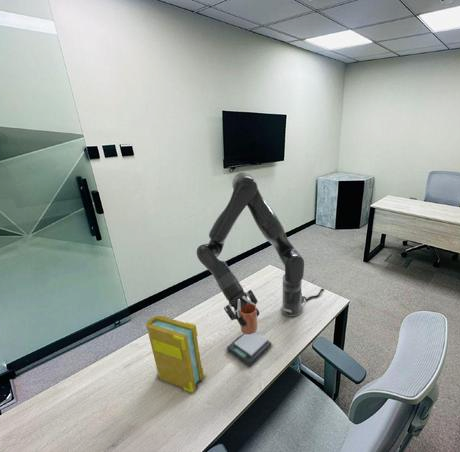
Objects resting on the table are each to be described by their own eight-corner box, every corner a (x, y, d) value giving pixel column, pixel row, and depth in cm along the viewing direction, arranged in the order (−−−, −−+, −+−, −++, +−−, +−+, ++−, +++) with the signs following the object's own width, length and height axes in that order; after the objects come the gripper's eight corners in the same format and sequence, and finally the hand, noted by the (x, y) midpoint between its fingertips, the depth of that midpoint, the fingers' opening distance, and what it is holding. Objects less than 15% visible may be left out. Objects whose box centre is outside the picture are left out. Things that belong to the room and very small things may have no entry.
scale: (249, 332, 121) (249, 326, 120) (271, 345, 114) (271, 340, 113) (227, 350, 111) (226, 344, 110) (249, 366, 104) (249, 361, 103)
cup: (249, 320, 114) (248, 300, 110) (260, 327, 110) (260, 307, 106) (237, 329, 109) (235, 309, 105) (249, 337, 105) (248, 317, 101)
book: (204, 376, 100) (195, 324, 90) (192, 393, 94) (182, 339, 85) (167, 363, 105) (156, 313, 96) (154, 378, 99) (141, 326, 90)
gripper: (219, 290, 101) (242, 328, 99) (246, 274, 111) (268, 308, 109) (211, 296, 106) (233, 333, 104) (238, 280, 116) (259, 313, 114)
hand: (251, 320), depth 106 cm, fingers closed on cup, 7 cm apart
